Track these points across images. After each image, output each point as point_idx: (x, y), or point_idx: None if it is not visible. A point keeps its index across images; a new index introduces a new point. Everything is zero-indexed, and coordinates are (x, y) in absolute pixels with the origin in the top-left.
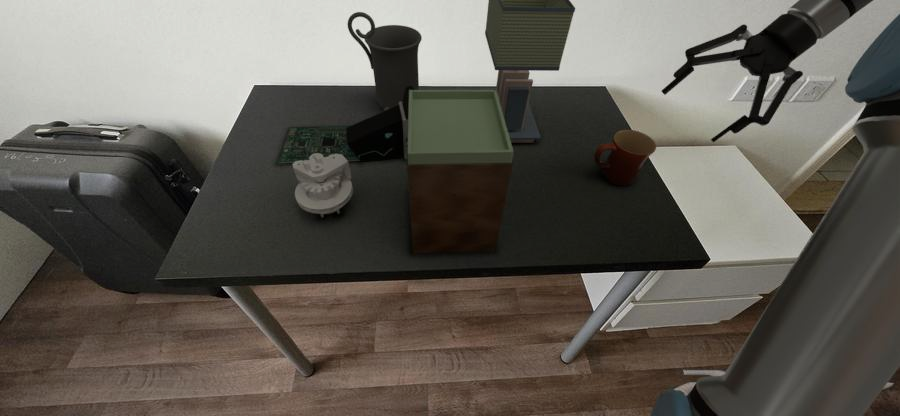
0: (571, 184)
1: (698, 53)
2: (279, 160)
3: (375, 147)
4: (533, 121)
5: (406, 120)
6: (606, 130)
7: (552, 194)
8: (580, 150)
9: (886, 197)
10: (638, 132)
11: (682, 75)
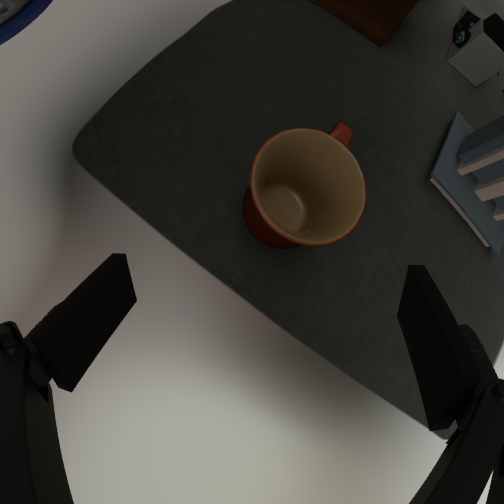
0: (318, 125)
1: (500, 470)
2: (465, 7)
3: (463, 25)
4: (466, 208)
5: (481, 20)
6: (382, 344)
7: (318, 85)
8: (375, 231)
9: None
10: (332, 238)
11: (449, 329)
